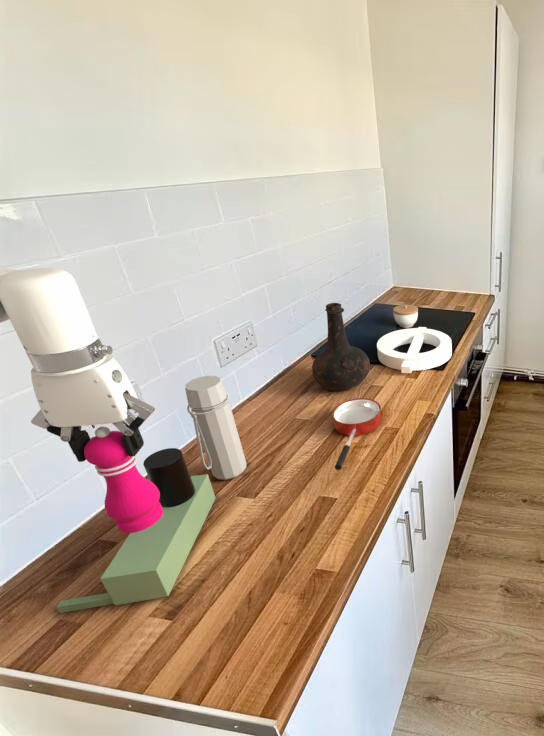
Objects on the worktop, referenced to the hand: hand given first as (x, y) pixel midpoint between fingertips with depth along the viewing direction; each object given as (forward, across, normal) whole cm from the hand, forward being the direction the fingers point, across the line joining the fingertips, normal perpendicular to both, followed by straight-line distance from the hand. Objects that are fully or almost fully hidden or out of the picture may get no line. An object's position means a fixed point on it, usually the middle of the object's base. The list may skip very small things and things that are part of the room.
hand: (111, 452), depth 70 cm
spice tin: (+20, 0, -10) cm, 22 cm away
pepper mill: (+15, 0, 0) cm, 15 cm away
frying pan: (+27, -33, -31) cm, 53 cm away
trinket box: (+27, -49, -114) cm, 127 cm away
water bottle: (+27, -4, -24) cm, 37 cm away
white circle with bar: (+27, -52, -84) cm, 102 cm away
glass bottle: (+27, -27, -64) cm, 75 cm away
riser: (+27, +4, -4) cm, 27 cm away
